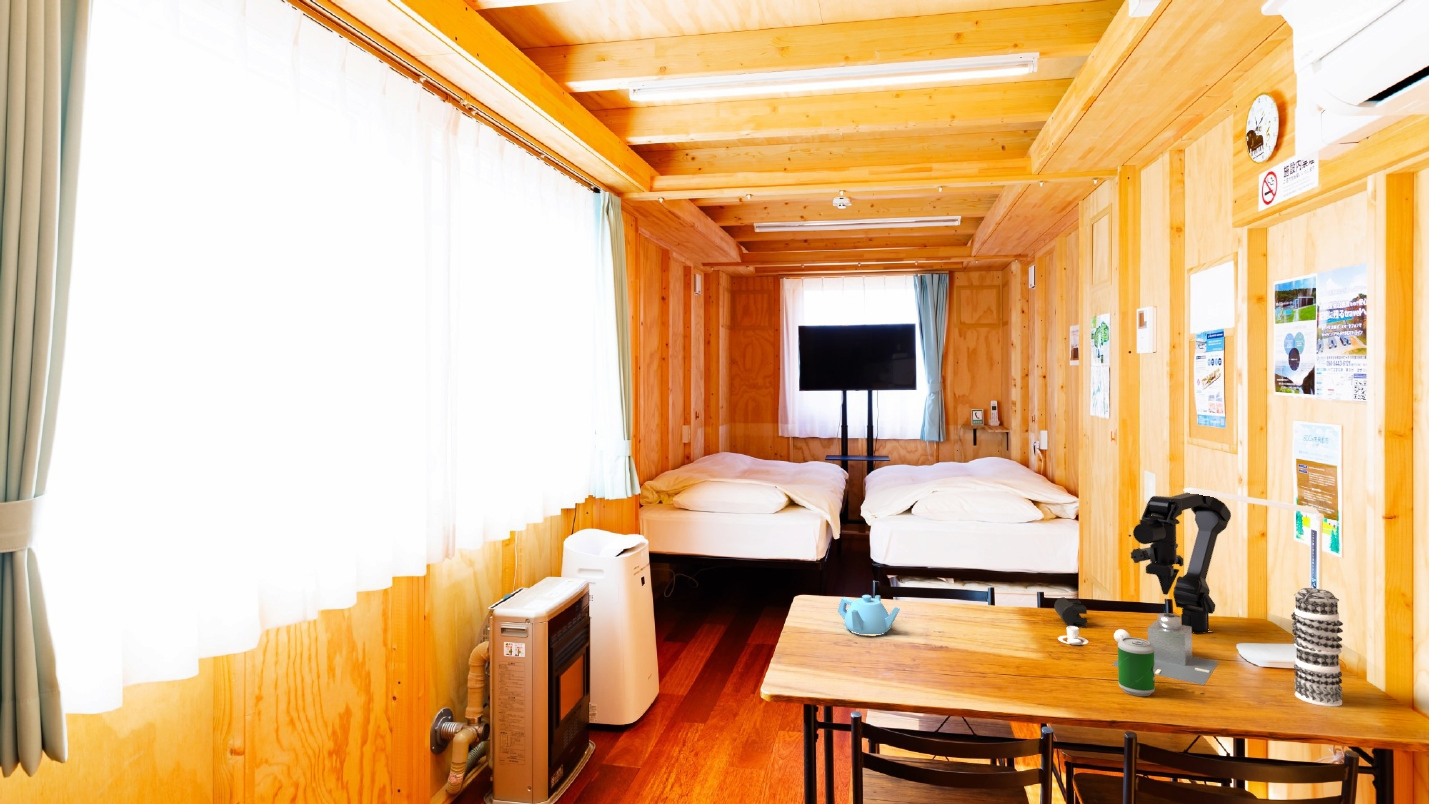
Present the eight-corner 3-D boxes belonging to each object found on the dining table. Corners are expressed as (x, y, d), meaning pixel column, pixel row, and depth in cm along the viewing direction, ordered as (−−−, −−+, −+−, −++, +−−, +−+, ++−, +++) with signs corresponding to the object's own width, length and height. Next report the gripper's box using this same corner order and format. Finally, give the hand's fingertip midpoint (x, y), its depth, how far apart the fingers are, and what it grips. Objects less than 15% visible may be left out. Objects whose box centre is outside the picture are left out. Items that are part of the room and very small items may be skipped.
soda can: (1154, 700, 168) (1153, 648, 167) (1117, 693, 172) (1116, 643, 171) (1155, 688, 174) (1154, 639, 174) (1119, 682, 178) (1118, 634, 178)
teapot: (881, 621, 231) (881, 587, 231) (901, 636, 216) (901, 600, 216) (836, 624, 228) (835, 591, 228) (853, 640, 214) (852, 604, 214)
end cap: (1054, 617, 230) (1053, 596, 230) (1078, 618, 229) (1077, 597, 229) (1062, 627, 221) (1061, 605, 221) (1087, 628, 219) (1087, 606, 219)
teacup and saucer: (1080, 649, 203) (1080, 634, 203) (1052, 642, 209) (1051, 628, 209) (1093, 641, 208) (1093, 627, 208) (1065, 635, 214) (1064, 621, 214)
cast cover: (1155, 649, 197) (1155, 609, 197) (1192, 656, 191) (1191, 614, 191) (1148, 658, 191) (1147, 616, 191) (1185, 665, 185) (1184, 622, 185)
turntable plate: (1132, 648, 201) (1131, 612, 201) (1218, 665, 187) (1218, 626, 187) (1112, 669, 187) (1111, 630, 187) (1203, 689, 173) (1203, 647, 173)
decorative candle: (1296, 702, 165) (1293, 593, 164) (1289, 687, 172) (1287, 583, 172) (1348, 710, 160) (1346, 598, 160) (1339, 695, 168) (1337, 588, 168)
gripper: (1140, 532, 220) (1141, 583, 220) (1125, 542, 207) (1125, 596, 207) (1183, 536, 213) (1184, 589, 213) (1170, 546, 199) (1171, 603, 199)
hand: (1165, 594), depth 208 cm, fingers closed
